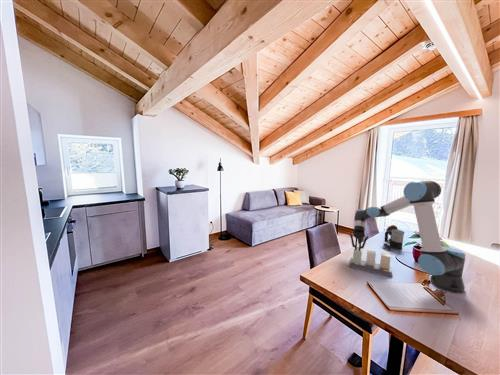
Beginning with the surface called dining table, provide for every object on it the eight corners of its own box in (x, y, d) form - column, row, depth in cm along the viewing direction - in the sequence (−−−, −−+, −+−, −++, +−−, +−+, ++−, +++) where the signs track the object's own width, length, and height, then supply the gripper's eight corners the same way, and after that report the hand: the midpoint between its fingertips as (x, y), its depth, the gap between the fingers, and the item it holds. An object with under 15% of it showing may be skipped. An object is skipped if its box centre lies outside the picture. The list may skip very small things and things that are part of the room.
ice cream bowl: (402, 242, 192) (404, 226, 190) (389, 242, 193) (391, 226, 191) (394, 238, 203) (396, 223, 201) (382, 238, 203) (384, 223, 201)
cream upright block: (366, 262, 151) (367, 250, 149) (374, 263, 148) (375, 251, 147) (366, 264, 147) (367, 252, 145) (374, 266, 144) (375, 254, 143)
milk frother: (402, 246, 183) (404, 230, 181) (403, 253, 170) (405, 236, 168) (383, 243, 190) (384, 227, 188) (383, 249, 177) (384, 232, 175)
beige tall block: (379, 265, 147) (381, 252, 145) (388, 266, 144) (389, 254, 143) (380, 267, 143) (381, 255, 141) (389, 269, 140) (390, 257, 139)
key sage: (352, 261, 151) (353, 249, 150) (360, 263, 149) (361, 251, 147) (352, 264, 147) (353, 252, 146) (360, 265, 145) (361, 253, 143)
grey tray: (350, 259, 157) (351, 255, 157) (390, 268, 146) (390, 264, 145) (349, 267, 147) (350, 262, 146) (392, 277, 135) (393, 272, 134)
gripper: (368, 231, 163) (367, 260, 151) (350, 228, 169) (347, 256, 157) (369, 226, 158) (367, 256, 145) (350, 223, 164) (347, 252, 151)
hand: (357, 256), depth 151 cm, fingers closed
